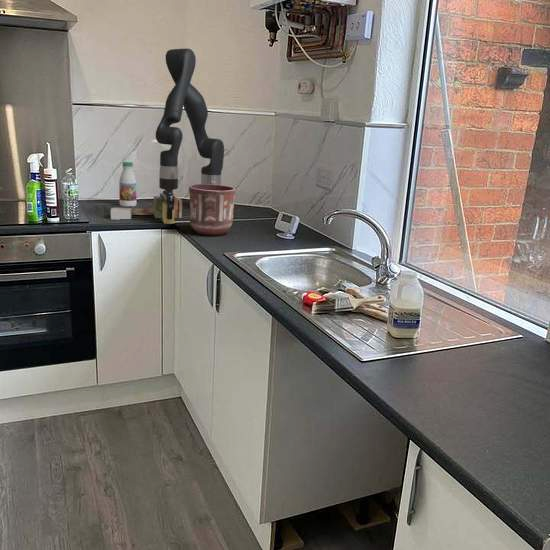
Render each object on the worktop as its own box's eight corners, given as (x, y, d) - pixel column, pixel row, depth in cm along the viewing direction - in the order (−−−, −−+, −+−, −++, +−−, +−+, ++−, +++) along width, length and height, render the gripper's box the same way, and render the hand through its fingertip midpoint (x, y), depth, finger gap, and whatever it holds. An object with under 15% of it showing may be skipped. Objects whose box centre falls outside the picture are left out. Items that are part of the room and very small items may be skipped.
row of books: (180, 215, 253) (180, 192, 250) (184, 218, 246) (184, 195, 243) (110, 215, 243) (110, 192, 240) (112, 219, 236) (111, 195, 233)
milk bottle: (118, 204, 269) (117, 161, 263) (134, 203, 272) (134, 161, 266) (121, 207, 262) (120, 163, 256) (138, 206, 265) (137, 163, 260)
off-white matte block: (131, 217, 243) (131, 208, 242) (130, 220, 238) (130, 210, 236) (112, 216, 242) (112, 207, 241) (110, 219, 236) (110, 210, 235)
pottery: (196, 238, 213) (198, 190, 208) (182, 228, 228) (183, 183, 223) (240, 237, 221) (242, 190, 216) (223, 227, 236) (225, 183, 231)
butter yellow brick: (172, 220, 240) (172, 202, 238) (174, 223, 236) (174, 204, 234) (162, 221, 239) (162, 202, 237) (164, 223, 235) (164, 204, 232)
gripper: (181, 179, 227) (180, 221, 232) (174, 174, 240) (174, 214, 245) (162, 179, 224) (162, 221, 229) (156, 174, 237) (156, 214, 242)
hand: (168, 217), depth 237 cm, fingers closed on butter yellow brick, 5 cm apart
